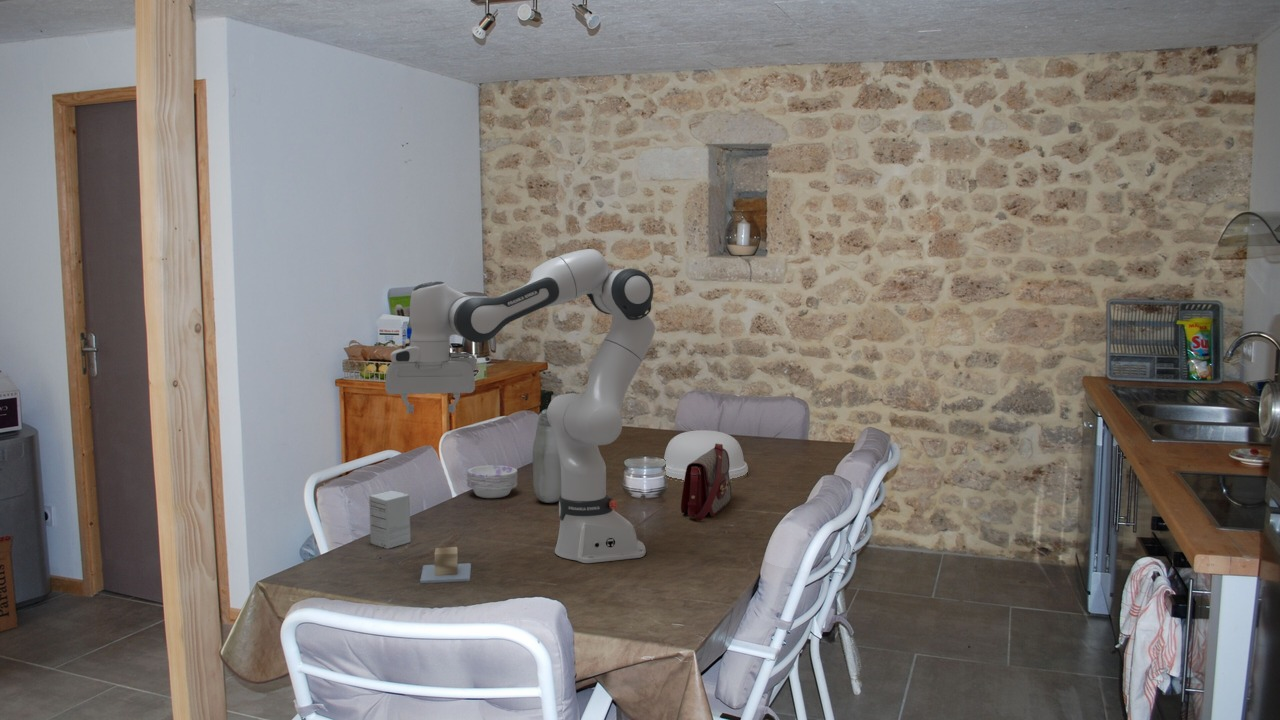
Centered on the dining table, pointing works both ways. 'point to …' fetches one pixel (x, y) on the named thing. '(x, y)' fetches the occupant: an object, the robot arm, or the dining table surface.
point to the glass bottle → (546, 462)
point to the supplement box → (389, 519)
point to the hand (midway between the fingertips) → (431, 412)
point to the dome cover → (702, 452)
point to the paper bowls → (492, 480)
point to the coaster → (430, 577)
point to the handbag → (707, 484)
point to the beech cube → (446, 561)
